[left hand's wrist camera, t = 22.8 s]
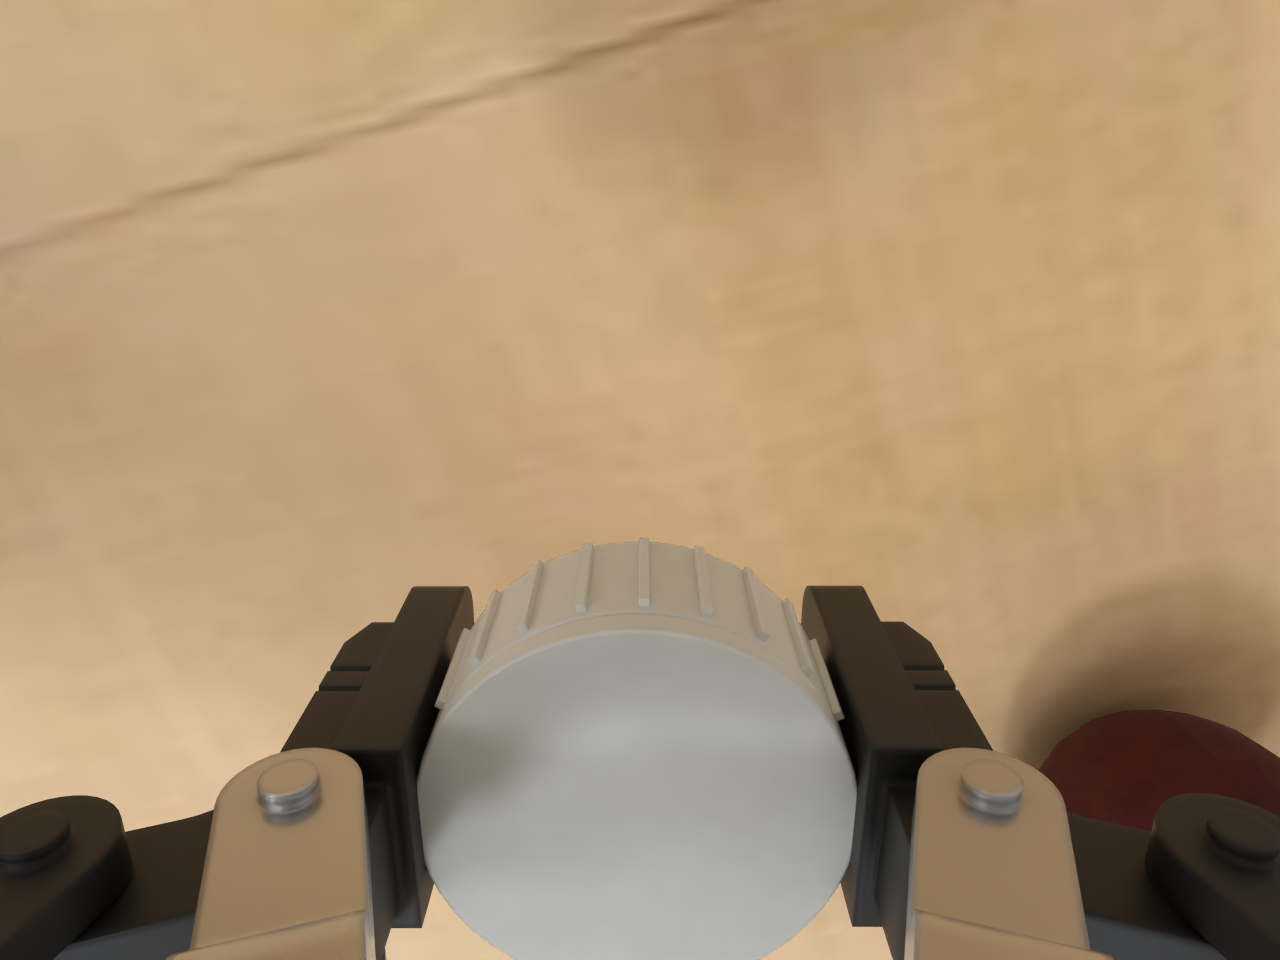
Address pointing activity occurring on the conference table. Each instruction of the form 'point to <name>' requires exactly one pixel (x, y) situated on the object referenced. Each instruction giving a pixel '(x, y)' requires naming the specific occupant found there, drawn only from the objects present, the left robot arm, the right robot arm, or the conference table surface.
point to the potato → (1158, 766)
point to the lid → (637, 764)
